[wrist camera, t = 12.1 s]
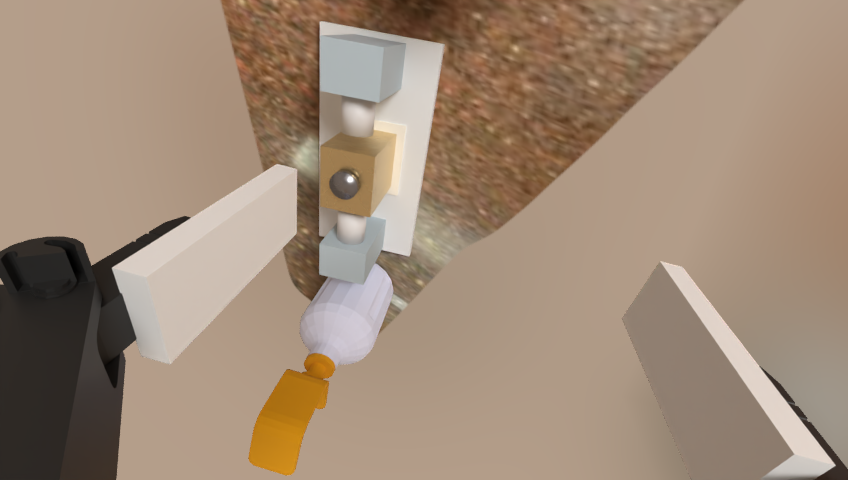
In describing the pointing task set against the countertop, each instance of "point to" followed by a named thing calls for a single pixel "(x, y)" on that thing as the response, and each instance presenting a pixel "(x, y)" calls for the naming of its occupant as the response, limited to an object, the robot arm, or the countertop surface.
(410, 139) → the shaft rig
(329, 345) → the soap bottle
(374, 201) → the block
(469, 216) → the countertop surface
